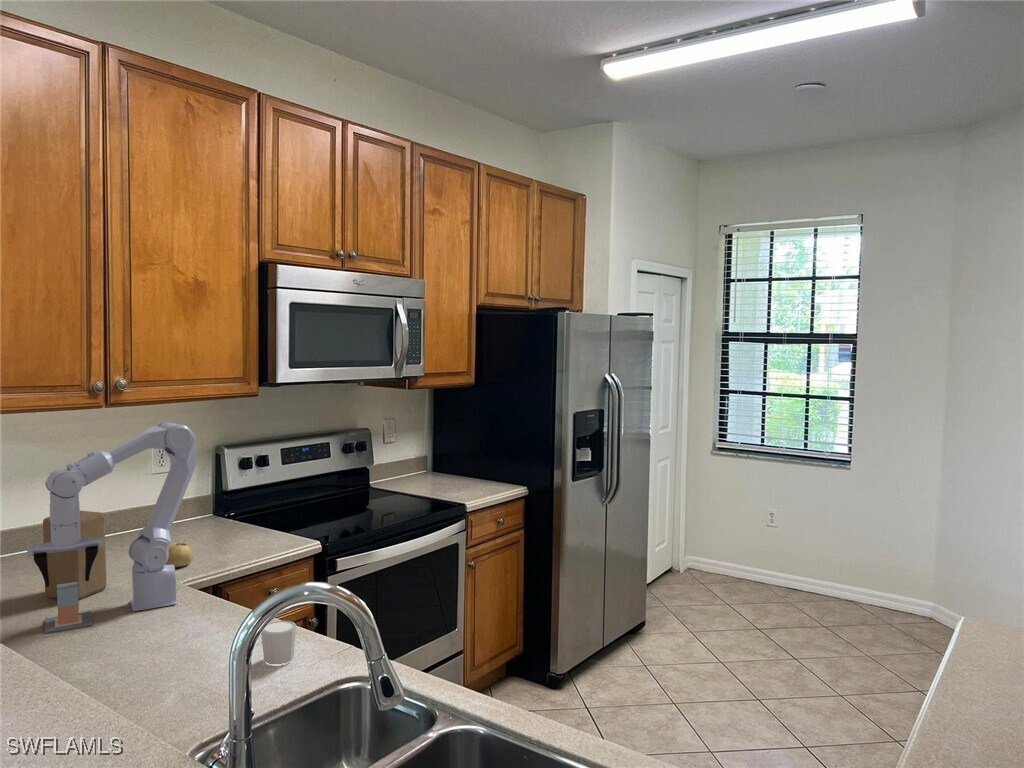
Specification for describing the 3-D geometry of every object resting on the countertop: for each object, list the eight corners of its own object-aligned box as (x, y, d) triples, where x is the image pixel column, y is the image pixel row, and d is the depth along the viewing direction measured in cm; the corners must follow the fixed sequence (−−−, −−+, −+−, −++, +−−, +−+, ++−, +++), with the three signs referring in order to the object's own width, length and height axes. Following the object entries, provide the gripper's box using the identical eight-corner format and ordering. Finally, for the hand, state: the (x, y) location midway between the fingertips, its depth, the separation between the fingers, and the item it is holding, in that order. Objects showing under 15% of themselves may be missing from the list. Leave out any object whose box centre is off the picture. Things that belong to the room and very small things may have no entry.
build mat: (90, 612, 176) (90, 610, 176) (92, 625, 168) (92, 623, 168) (45, 620, 171) (45, 618, 171) (44, 633, 163) (44, 631, 163)
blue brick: (77, 598, 172) (77, 581, 172) (78, 604, 169) (77, 587, 168) (57, 602, 170) (56, 584, 170) (57, 607, 167) (57, 590, 166)
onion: (166, 572, 206) (166, 546, 206) (158, 565, 212) (158, 540, 212) (197, 566, 211) (196, 541, 211) (188, 559, 217) (188, 535, 217)
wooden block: (108, 589, 192) (106, 511, 191) (76, 602, 182) (73, 521, 181) (76, 585, 195) (74, 508, 193) (43, 598, 185) (40, 518, 184)
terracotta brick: (78, 615, 172) (78, 598, 172) (78, 621, 169) (78, 604, 169) (58, 619, 170) (57, 601, 170) (58, 625, 167) (57, 607, 167)
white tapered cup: (255, 660, 152) (254, 626, 151) (286, 650, 156) (286, 617, 156) (271, 671, 147) (270, 636, 146) (303, 660, 151) (302, 626, 151)
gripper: (101, 515, 175) (103, 572, 176) (27, 523, 168) (29, 582, 169) (103, 521, 169) (104, 581, 170) (26, 530, 162) (28, 592, 163)
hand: (67, 582), depth 169 cm, fingers open, 7 cm apart
